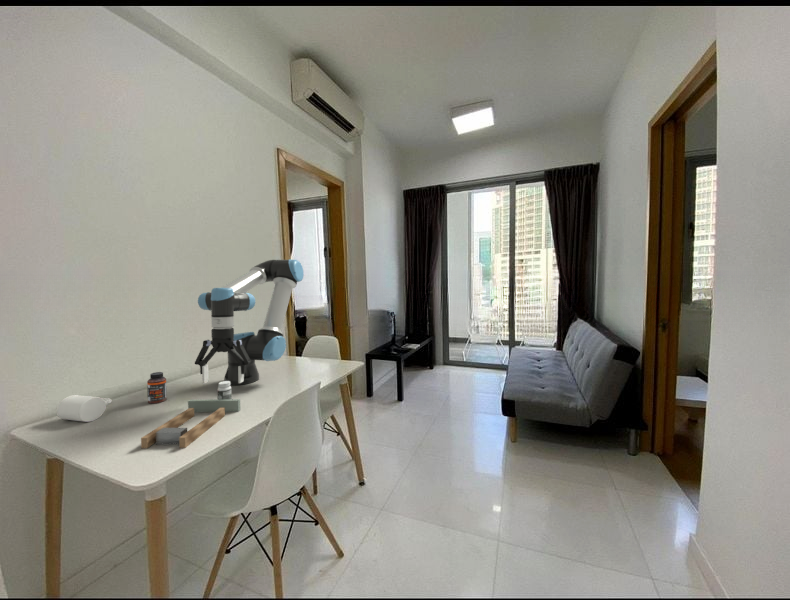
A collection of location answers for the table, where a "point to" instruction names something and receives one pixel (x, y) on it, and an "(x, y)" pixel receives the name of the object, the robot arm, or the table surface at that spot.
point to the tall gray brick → (169, 435)
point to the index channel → (181, 419)
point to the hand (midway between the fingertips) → (223, 382)
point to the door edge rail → (214, 405)
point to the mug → (82, 408)
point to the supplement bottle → (156, 388)
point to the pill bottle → (224, 390)
